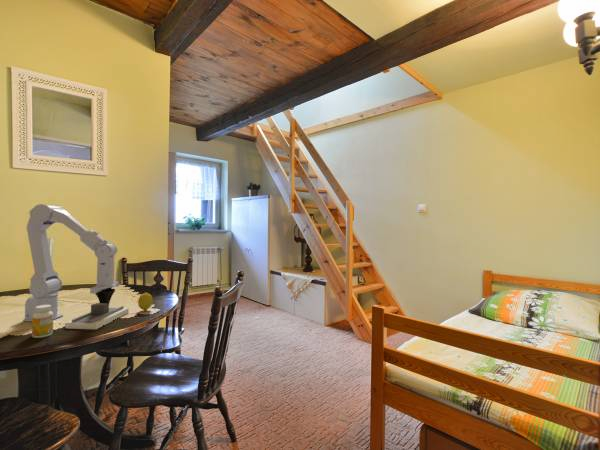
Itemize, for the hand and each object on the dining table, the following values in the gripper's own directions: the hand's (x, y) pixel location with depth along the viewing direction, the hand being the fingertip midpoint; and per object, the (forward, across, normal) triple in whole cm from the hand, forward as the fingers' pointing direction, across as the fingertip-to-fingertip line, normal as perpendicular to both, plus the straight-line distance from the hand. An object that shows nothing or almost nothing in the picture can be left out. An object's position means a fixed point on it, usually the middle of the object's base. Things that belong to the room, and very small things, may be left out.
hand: (104, 307), depth 122 cm
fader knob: (+2, -3, 0) cm, 3 cm away
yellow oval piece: (+4, +11, -11) cm, 16 cm away
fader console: (+4, -3, 0) cm, 5 cm away
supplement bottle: (+4, -20, +8) cm, 22 cm away
